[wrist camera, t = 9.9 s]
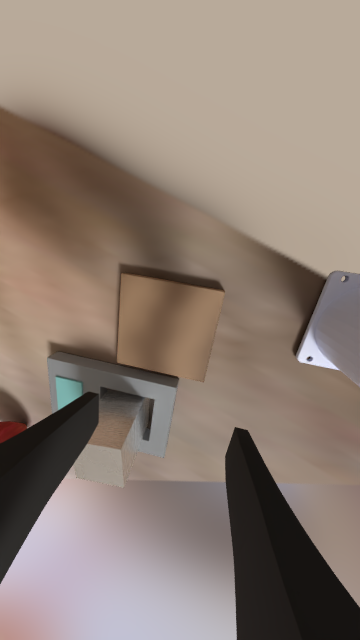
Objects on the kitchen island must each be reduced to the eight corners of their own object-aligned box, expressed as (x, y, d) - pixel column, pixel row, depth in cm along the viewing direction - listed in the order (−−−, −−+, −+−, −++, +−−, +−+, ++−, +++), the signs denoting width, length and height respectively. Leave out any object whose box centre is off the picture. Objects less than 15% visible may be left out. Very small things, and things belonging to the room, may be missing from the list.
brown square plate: (224, 290, 16) (225, 292, 15) (204, 376, 19) (203, 382, 18) (126, 272, 17) (121, 273, 16) (121, 357, 20) (116, 362, 19)
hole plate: (178, 378, 20) (176, 389, 18) (166, 445, 23) (163, 459, 22) (57, 351, 21) (45, 358, 20) (62, 418, 24) (52, 429, 23)
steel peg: (148, 389, 21) (120, 449, 14) (149, 420, 22) (124, 487, 16) (111, 384, 22) (68, 440, 15) (114, 414, 23) (76, 477, 16)
